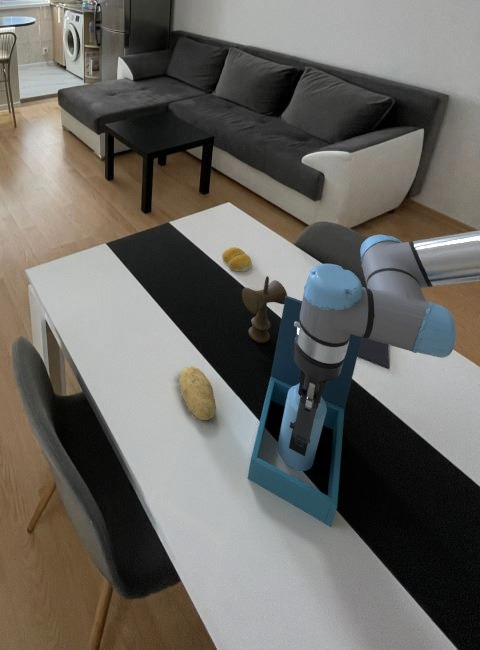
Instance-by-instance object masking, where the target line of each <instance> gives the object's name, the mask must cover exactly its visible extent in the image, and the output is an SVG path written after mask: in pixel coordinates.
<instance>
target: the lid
mask: <svg viewBox="0 0 480 650" xmlns="http://www.w3.org/2000/svg"><path fill="white" fill-rule="evenodd" d="M301 306H302V300H301V299H297V298H295V297H291V296H289V295H287V296H286V297H285V302H284V304H283V308H282V313H281V320H280V324H279V330H278V335H277V341H276V345H275V350H274V351H275V352H274V357H273V361H272V362H273V363H272V366H271V367H272V368H271V372H270V377H274V378H276V379H278V380H280V381H282V382H285V383H287V384H289V385H291V386H295V385H298V384H299V383H300V380H299V377H300V372H301V369H300V368H299V367H298V366H297V364H296V363H295V361H294V358H293V347H294V341H295V337H296V333H297V327H295V326H294V322H295V321H297V322H299V317H300V312H301ZM361 339H362V337H359V336H356V335H352V334H350V340H349V344H348V348H347V352H346V355H345V358H344V361H343V365H342V369H341V373H340V375H339V376H338V377H337V378H336V379H334V380H331V381H326V384H325V389H324V391H322V394H321V396H322V398H323V400H325V401H327V402H329V403H331V404H334V405H336V406H338V407H340V408H342V409H344V410H345V409H346V405H347V401H348V397H349V393H350V388H351V386H352V385H351V384H352V381H353V377H354V372H355V369H356V363H357V360H358V357H357V356H358V352H359V348H360V343H361Z"/></svg>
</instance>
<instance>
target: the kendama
mask: <svg viewBox="0 0 480 650" xmlns="http://www.w3.org/2000/svg"><path fill="white" fill-rule="evenodd" d="M286 296H288V293H287V290H286V288H285V287H284V285H283V284H282V283H281V282H279V280H273V281H271V282H270V277H269V276H268V275H266V277H265V280H264V285H263V289H259V290H256V289H255V290H254V289H252V288H249V287H244V288H243V289H242V291H241V298H242V301H243V304H244V306H245V308H246V309H247V310H248V312H250V313H251V314H253V315H255V316H254V317H252V318H251V319H250V321H251V325H252V326H251V327H249V329H248V335H249V337H250V339H252V340H253V341H254V342H256V343H258V344H264V343H265V344H266V343H267V342H269V341H270V339H271V335H270V333H269V331H268V330H270V328H271V322H270V321H269V319H268V307H267V306H268V304H269V303H276V304H280V305H284V302H285V297H286Z"/></svg>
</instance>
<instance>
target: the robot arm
mask: <svg viewBox="0 0 480 650" xmlns="http://www.w3.org/2000/svg"><path fill="white" fill-rule="evenodd" d="M359 250H360V264H361V265H360V266H361V269H362V272H363V275H364V280H365V285H366V287H364V286H363V284H362V281H361V280H360V279H359V277H358V276H357V275H356V274H355V273H354V272H353V271H351V270H349V269H344V268H343V266H341V265H338V264H335V263H320V264H317V265H315V266H314V267H312V268H311V269H310V271H309V272H308V277H307V279H306V283H305V285H304V286H303V295H302V300H301V301H302V306H301V312H300V317H299V322H297V321H295V322H294V326H295V327H297V333H296V337H295V341H294V347H293V358H294V361H295V363H296V364H297V366H298V367H299V368H300V369H301V372H300V377H299V380H300V385H299V390H298V394H299V395H300V402H299V407H298V412H297V416H296V421H295V422H294V423H292V422H290V427H289V428H291V429H293V430H292V435H291V439H290V444H289V448H290V449H292V450H293V451H295V452H297V453H299V454H301V455H303V456H305V453H306V449H307V445H308V444H309V443H310V435H311V431H312V427H313V422H314V418H315V414H316V410H317V408H318V406H319V405H318V404H319V403H320V399H321V394H322V391H324V389H325V384H326V381H331V380H334V379H336V378H337V377H338V376H339V375H340V373H341V369H342V365H343V361H344V358H345V355H346V352H347V348H348V344H349V340H350V334H352V335H356V336H359V337H364V338H367V339H371V340H374V341H378V342H381V343H385V344H388V345H389V346H392V347H394V348H395V347H396V348H398V349H403V350H406V351H410V352H412V353H415V354H417V353H418V354H421V355H427V356H430V357H431V356H432V357H435V358H441V359H442V358H443V359H444V358H448V357H449V356H450V355H451V354H452V353H453V351H454V348H455V345H456V341H457V329H456V323H455V318H454V316H453V313H452V312H451V311H450V310H448V309H447V308H446V307H445V306H444V305H440V304H437V303H435V302H433V301H427V300H426V298H425V295H424V293H423V290H422V289H423V288H424V289H425V288H431V287H438V286H447V285H454V284H464V283H474V282H480V229H477V230H472V231H465V232H458V233H454V234H447V235H442V236H441V235H440V236H435V237H430V238H423V239H417V240H413V241H405V242H402V241H401V240H400V239H399V238H397V237H394V236H392V235H385V234H374V235H371V236H369V237H367V238H366V239H365V240H364V241H363V242H362V243H361V245H360V249H359ZM303 383H304V385H303ZM303 387H304V389H305V390H304V389H303ZM317 393H318V394H317ZM316 394H317V395H316Z"/></svg>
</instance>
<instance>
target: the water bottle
mask: <svg viewBox="0 0 480 650" xmlns="http://www.w3.org/2000/svg"><path fill="white" fill-rule="evenodd" d="M299 385H300V383H299V384H298V385H295V386H293V385H292V386H293V387H291V388H290V389H289V391H288V395H287V400H286V405H285V407H284V410H283V415H282V420H281V426H280V430H279V435H278V440H277V451H278V454H279V456H280V458H281V459H282V460H283V462H284V463H285V464H286V465H287V466H289V467H290V468H291V469H293V470H295V471H299V472H307V471H309V470H310V469H312V467H313V465H314V463H315V458H316V454H317V450H318V446H319V442H320V439H321V434H322V431H323V427H324V425H323V423H324V419H325V415H326V411H327V408H326V404H325V402H324V399H323V398H322V396H321V399H320V403H319V404H318V405H319V406H318V408H317V410H316V414H315V418H314V422H313V427H312V431H311V435H310V443H309V444H308V445H307V449H306V453H305V456H303V455H301V454H299V453H297V452H295V451H293V450H292V449H290V448H289V444H290V439H291V435H292V430H293V429H291V428H289V427H290V422H292V423H294V422H295V421H296V416H297V412H298V407H299V402H300V395H299V394H298V390H299ZM303 385H304V383H303ZM303 389H304V387H303ZM304 390H305V389H304ZM317 394H318V393H317ZM317 394H316V395H317Z"/></svg>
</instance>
